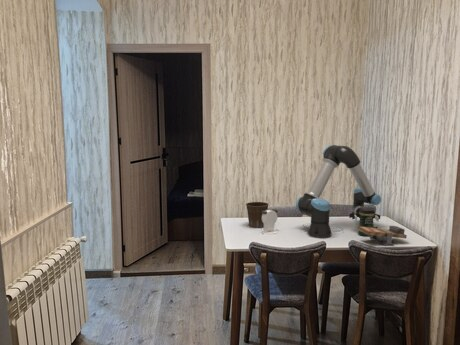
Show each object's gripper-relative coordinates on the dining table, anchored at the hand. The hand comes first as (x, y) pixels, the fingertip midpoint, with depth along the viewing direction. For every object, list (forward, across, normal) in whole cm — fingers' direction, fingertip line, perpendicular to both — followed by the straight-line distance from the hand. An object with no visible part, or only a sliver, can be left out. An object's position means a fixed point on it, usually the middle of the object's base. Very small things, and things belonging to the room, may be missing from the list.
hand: (367, 219), depth 254 cm
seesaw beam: (+16, -6, -4) cm, 17 cm away
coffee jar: (+1, +1, -11) cm, 11 cm away
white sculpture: (+2, +64, -11) cm, 65 cm away
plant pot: (-12, +73, -11) cm, 75 cm away
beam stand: (+16, -6, -10) cm, 20 cm away
